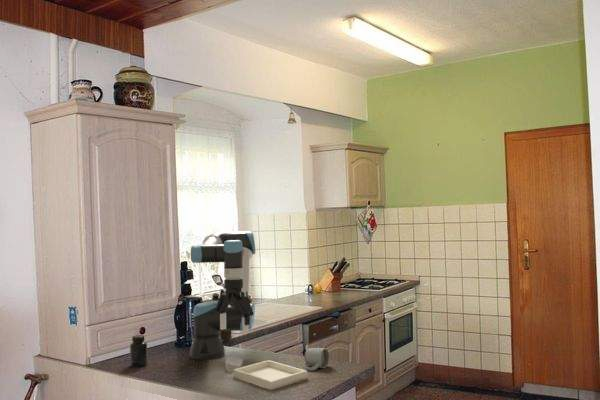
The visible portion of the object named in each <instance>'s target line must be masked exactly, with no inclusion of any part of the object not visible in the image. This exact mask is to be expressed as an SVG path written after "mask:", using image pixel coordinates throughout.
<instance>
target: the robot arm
mask: <svg viewBox="0 0 600 400" xmlns="http://www.w3.org/2000/svg"><path fill="white" fill-rule="evenodd" d="M255 243H256V242H255V236H254V233H253V231H252V230H240V231H239V230H235V231H234V230H229V231H228V230H227V231H224V230H223V231H222V230H221V231H217V232H213V233H212V234H209V235H208V236H206V237H204V239H203V240H202V243H201V244H194V245H191V246H190V261H191V263H194V264H196V263H197V264H203V263H223V264H224V266H223V273H224V275H223V276H224V277H223V278H224V280H223V283H224V285H223V286H224V287H223V288H224V289H223V288H222V289H220V291H219V292H220V294H219V297H218V298H219V300H218V301H207V302H203V303H201V302H200V303H197V304H196V305H194V306H193V313H192V314H193V315H192V317H193V321H192V322H193V340H192V343H191V346H190V350H189V358H191V359H194V360H199V361H201V360H203V361H204V360H206V361H207V360H214V359H216V360H217V359H221V358H222V357H224V356H225V354H226V352H225V350H226V349H225V345H224V343H223V340H221V336H220V331H231V332H232V331H234V332H235V331H237V332H238V331H240V332H242V334H243V335H246V334H249V333H250V330H252V328H253V326H254V322H255V312H256V306H255V303H253V302H252V299H251V298H250V297H249V295H250V293H249V292H250V291H249V290H250V289H249V287H250V285H249V284H250V281H249V280H250V260H251V259H252V257H253V255H255V254H256V244H255Z"/></svg>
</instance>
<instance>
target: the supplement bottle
mask: <svg viewBox="0 0 600 400" xmlns="http://www.w3.org/2000/svg"><path fill="white" fill-rule="evenodd" d="M131 339H132V340H131V341H132V342H131V343H130V345H129V354H130V355H129V359H130V366H131V367H133V368H141V367H145V366H147V365H148V344H147V342H146V341H145V335H143V334H136V335H132V336H131Z"/></svg>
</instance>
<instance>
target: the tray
mask: <svg viewBox="0 0 600 400" xmlns="http://www.w3.org/2000/svg"><path fill="white" fill-rule="evenodd" d="M232 377H233V379H237V380H239V381H243V382H245V383H249V384H251V383H252V384H251V385H254V384H255V385H254V386H257V385H258V386H257V387H260V386H261V387H260V388H263V389H266V390H270V391H274V390H277V389H281V388H282V387H283V388H284V387H286V386H290V385H293V384H296V383H298V382H302V381H305V380H307V379H308V370H306V369H302V368H298V367H295V366H292V365H288V364H284V363H281V362H277V361H274V360H270V359H268V360H264V361H259V362H256V363H251V364H249V365H246V366H242V367H241V368H237V369H234V370H233V372H232Z"/></svg>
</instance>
